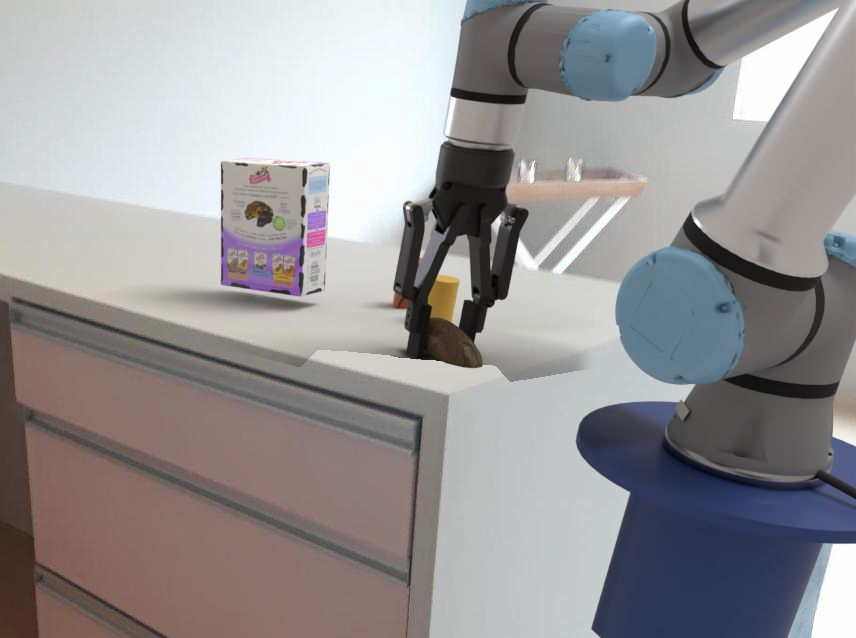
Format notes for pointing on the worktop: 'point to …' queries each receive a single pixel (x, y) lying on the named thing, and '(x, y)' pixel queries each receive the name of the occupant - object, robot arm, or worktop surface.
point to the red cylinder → (398, 298)
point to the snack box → (274, 225)
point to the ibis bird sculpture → (450, 344)
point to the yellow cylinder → (443, 297)
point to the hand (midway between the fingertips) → (437, 359)
